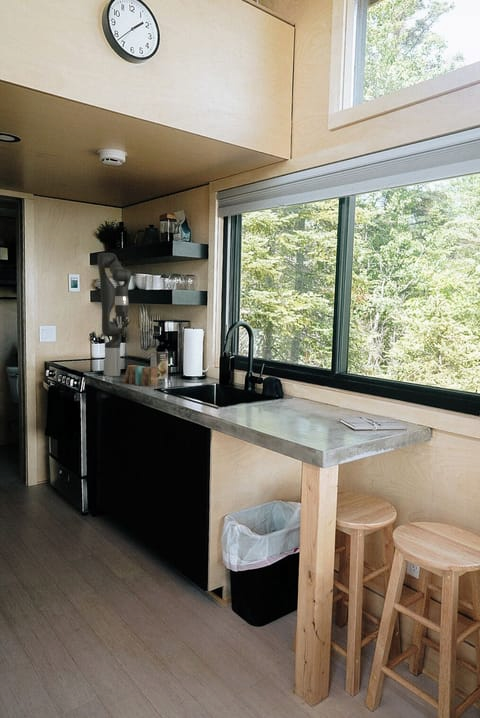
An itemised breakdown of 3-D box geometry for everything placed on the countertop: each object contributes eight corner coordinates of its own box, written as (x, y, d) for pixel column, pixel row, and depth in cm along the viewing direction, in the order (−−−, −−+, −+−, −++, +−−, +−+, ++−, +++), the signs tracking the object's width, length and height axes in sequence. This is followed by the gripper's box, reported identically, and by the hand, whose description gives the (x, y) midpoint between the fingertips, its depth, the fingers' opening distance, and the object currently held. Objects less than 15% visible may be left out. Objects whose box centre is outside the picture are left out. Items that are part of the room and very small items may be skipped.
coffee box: (157, 379, 316) (157, 352, 314) (150, 378, 320) (150, 352, 318) (168, 378, 323) (168, 352, 322) (160, 377, 327) (161, 351, 325)
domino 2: (129, 383, 296) (130, 365, 294) (135, 382, 300) (136, 365, 298) (131, 384, 294) (132, 366, 293) (138, 383, 299) (139, 365, 297)
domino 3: (135, 384, 293) (135, 366, 292) (141, 383, 297) (142, 366, 296) (138, 384, 292) (138, 366, 291) (144, 383, 296) (144, 366, 295)
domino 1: (123, 381, 298) (127, 365, 295) (129, 380, 302) (134, 365, 300) (125, 383, 297) (129, 367, 294) (131, 382, 301) (136, 366, 299)
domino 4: (141, 385, 290) (142, 367, 289) (148, 384, 294) (148, 366, 293) (144, 385, 289) (144, 367, 288) (150, 384, 293) (151, 367, 292)
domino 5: (148, 386, 287) (148, 368, 286) (154, 385, 291) (155, 367, 290) (151, 386, 286) (151, 368, 285) (157, 385, 290) (157, 367, 289)
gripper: (134, 304, 298) (134, 335, 300) (118, 304, 306) (118, 334, 307) (124, 304, 292) (124, 335, 294) (108, 304, 299) (108, 334, 301)
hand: (121, 334), depth 300 cm, fingers closed
